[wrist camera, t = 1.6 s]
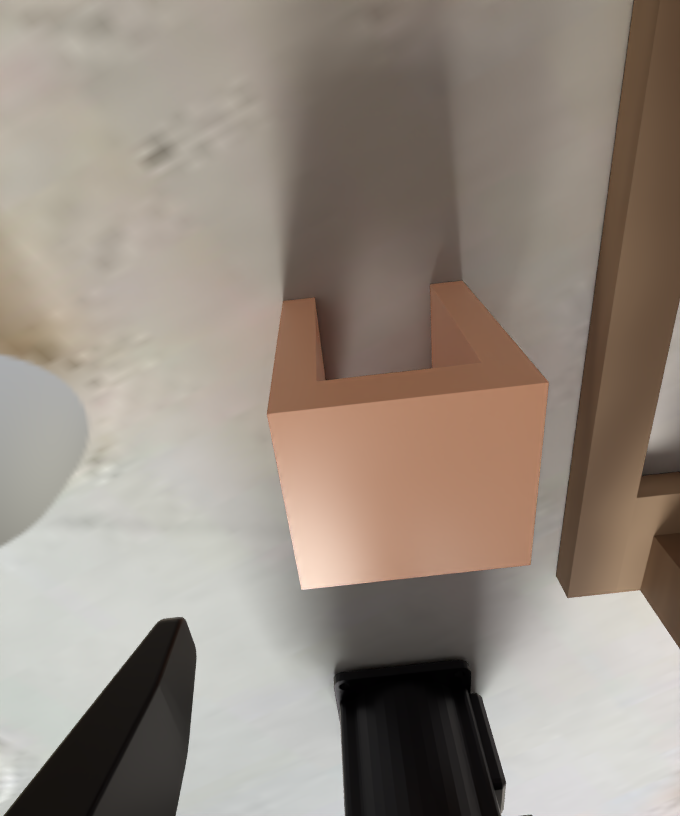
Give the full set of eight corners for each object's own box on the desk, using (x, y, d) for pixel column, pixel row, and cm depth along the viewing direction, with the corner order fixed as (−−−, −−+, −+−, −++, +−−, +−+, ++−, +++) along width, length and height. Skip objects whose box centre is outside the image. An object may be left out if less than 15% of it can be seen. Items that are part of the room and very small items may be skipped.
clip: (304, 435, 19) (301, 589, 13) (283, 301, 17) (266, 414, 11) (460, 418, 19) (530, 564, 13) (462, 280, 17) (548, 382, 11)
